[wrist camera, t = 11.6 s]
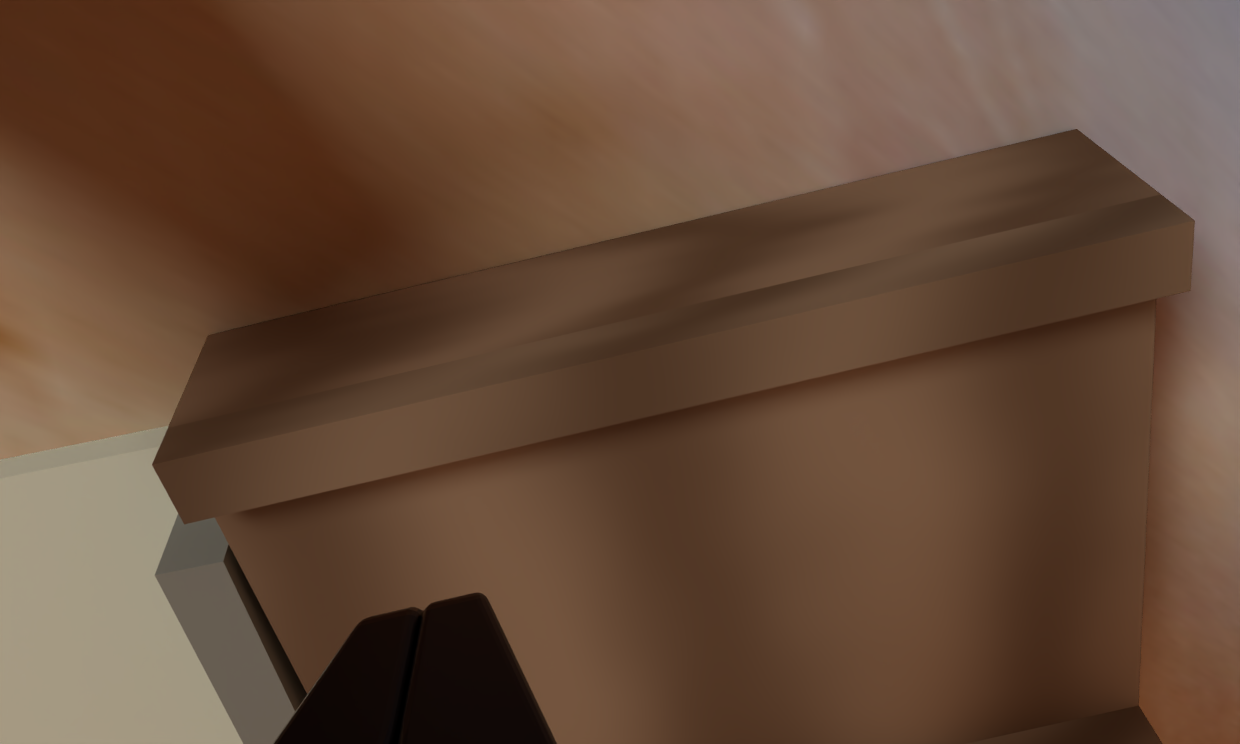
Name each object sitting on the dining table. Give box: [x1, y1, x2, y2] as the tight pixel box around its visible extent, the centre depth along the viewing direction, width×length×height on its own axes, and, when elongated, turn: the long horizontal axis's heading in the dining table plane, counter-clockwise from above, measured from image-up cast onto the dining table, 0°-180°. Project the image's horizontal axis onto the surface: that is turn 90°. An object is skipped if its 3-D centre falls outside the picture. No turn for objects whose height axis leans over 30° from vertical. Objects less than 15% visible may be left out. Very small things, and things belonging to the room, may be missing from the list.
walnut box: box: [152, 129, 1195, 744], centre depth 22 cm, size 16×13×4 cm
